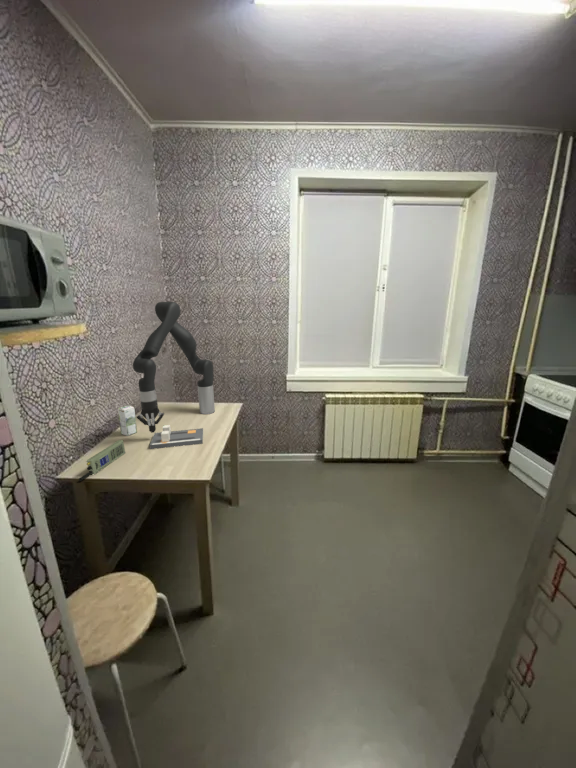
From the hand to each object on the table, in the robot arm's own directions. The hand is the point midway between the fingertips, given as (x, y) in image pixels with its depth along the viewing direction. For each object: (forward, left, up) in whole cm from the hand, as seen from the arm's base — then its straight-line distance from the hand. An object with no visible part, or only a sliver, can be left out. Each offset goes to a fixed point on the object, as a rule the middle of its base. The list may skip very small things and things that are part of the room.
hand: (152, 431), depth 159 cm
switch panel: (+4, +12, -4) cm, 13 cm away
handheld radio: (+24, -16, -4) cm, 29 cm away
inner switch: (0, +7, -2) cm, 7 cm away
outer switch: (+8, +7, -2) cm, 11 cm away
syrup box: (-11, -14, -4) cm, 18 cm away
